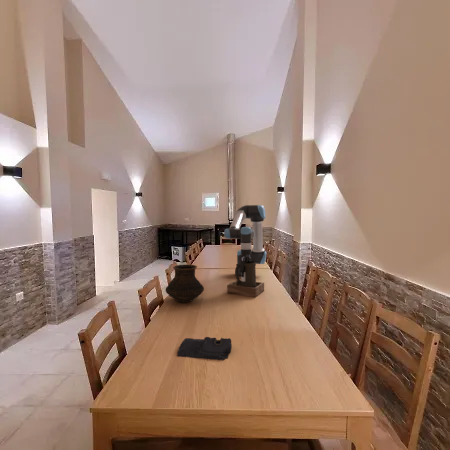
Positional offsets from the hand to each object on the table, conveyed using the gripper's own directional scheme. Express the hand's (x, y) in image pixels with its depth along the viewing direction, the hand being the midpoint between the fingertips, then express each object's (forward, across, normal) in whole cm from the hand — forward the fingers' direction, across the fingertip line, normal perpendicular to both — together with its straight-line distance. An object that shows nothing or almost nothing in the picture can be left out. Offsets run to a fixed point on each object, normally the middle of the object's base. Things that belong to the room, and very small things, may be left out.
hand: (246, 279), depth 204 cm
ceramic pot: (+9, +36, -28) cm, 47 cm away
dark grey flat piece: (+9, +87, +18) cm, 89 cm away
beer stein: (+7, +1, 0) cm, 7 cm away
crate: (+9, 0, 0) cm, 9 cm away
